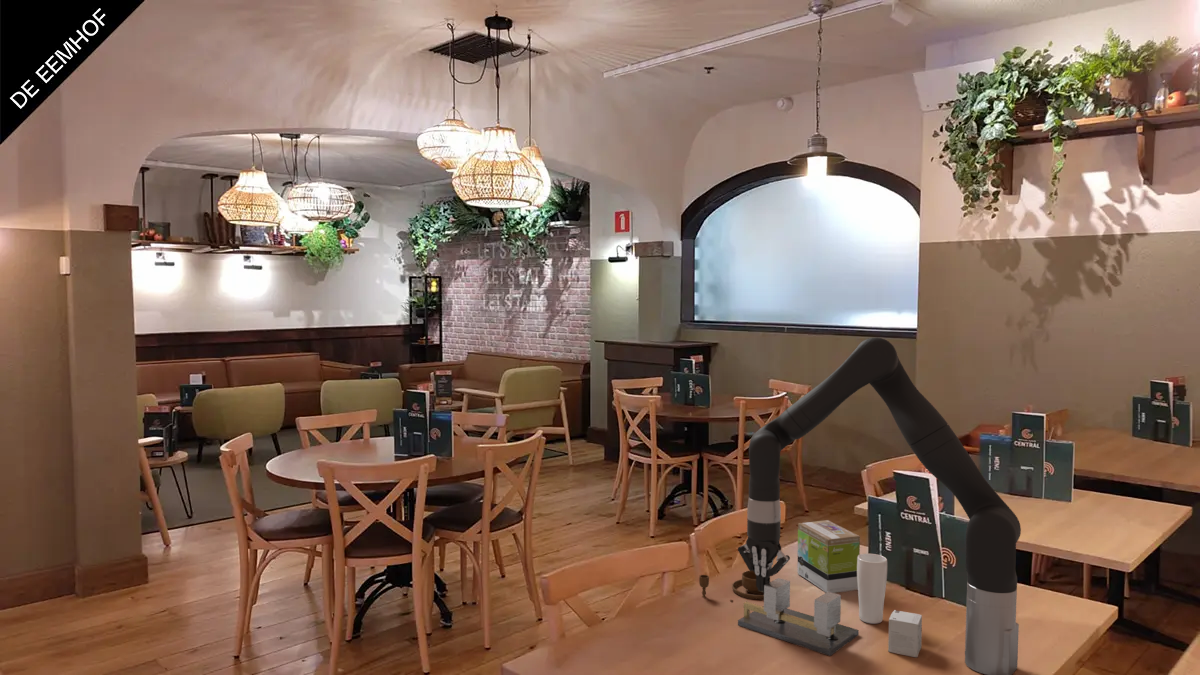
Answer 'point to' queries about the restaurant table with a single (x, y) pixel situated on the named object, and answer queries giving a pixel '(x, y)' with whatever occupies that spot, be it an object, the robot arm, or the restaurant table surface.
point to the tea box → (828, 556)
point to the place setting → (746, 581)
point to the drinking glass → (871, 586)
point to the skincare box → (905, 633)
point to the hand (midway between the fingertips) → (762, 590)
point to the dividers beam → (824, 614)
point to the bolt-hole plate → (799, 632)
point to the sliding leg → (776, 598)
